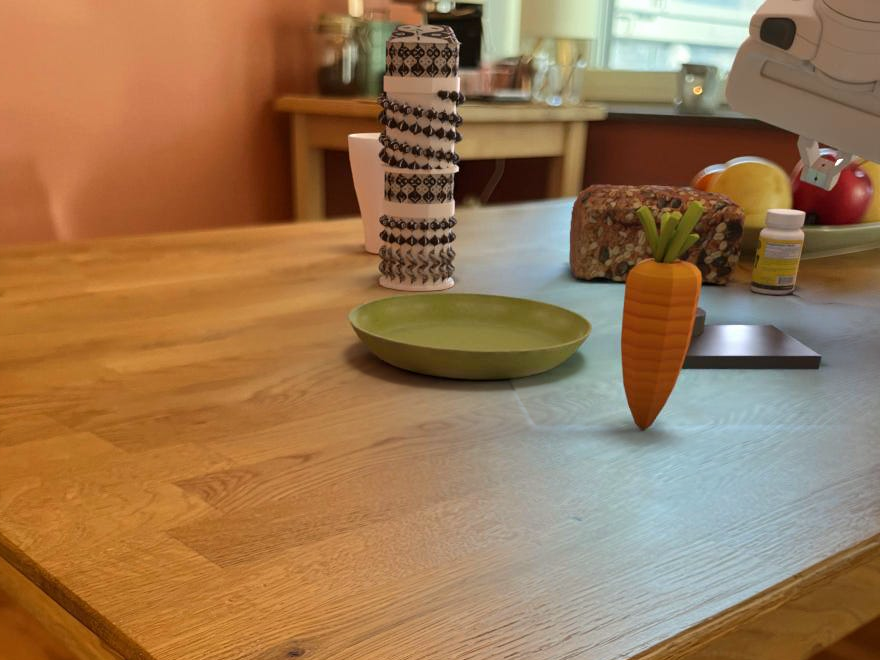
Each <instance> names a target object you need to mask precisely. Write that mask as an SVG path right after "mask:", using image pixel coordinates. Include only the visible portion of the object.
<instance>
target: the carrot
mask: <svg viewBox="0 0 880 660" xmlns="http://www.w3.org/2000/svg"><path fill="white" fill-rule="evenodd" d="M703 211H704V208H703V206H702V204H701V202H699V201H692V203H691V204H690V206H689V208H688V209H687V211H686V212H685V214H684V216H683V218H682V220H681V221H680V223H679V225H678V227H677V229H676V230H674V229H675V227H676V225H677V224H678V222H679V220H680V218H681V216H682V214H680V213H679V212H675V211H674V212H673V213H672V214H671V215H670V214H669V213H668V212H666V213H664V214H663V215H662V216H661V230H660V238H659V237H658V233H657V229H656V225H655V221H654V218H653V216H652V214H651V212H650V210H649V209H648V208H647V206H644V207H641V208H640V209H639V210H638V211H637V212H636V213H637V215H638V217H639V219H640V221H641V223H642V225H643V228H644V231H645V233H646V236H647V239H648V242H649V245H650V247H651V250H652V253H653V256H654V258H651V259H645V260H643V261H641V262H639V263H638V264H637V265H636V266H635V267H633V268H632V269H631V270H630V272H629V274H628V276H627V280H626V281H625V288H624V296H623V297H624V298H623V308H622V310H623V311H622V320H621V321H622V322H621V335H620V349H621V350H620V351H621V352H620V353H621V370H622V371H621V373H622V383H623V384H622V385H623V389H624V393H625V397H626V402H627V405H628V408H629V412H630V413H631V416H632V419H633V422H634V424H635V425H636V426H637V427H638V429H639V430H640V431H642V432H643V431H646V430H647V429H649V428H650V427H651V426H652V425H653V424H654V422H655V420H656V419H657V417H658V416H659V414H660V413H661V411H662V410H663V409H664V407H665V405H666V404H667V402H668V400H669V399H670V397H671V395H672V393H673V390H674V388H675V387H676V384H677V382H678V378H679V375H680V373H681V370H682V369H681V368H682V365H683V362H684V359H685V356H686V353H687V350H688V347H689V344H690V339H691V335H692V330H693V326H694V321H695V316H696V311H697V307H699V300H700V295H701V289H702V284H703V283H702V276H701V272H700V270H699V269H698V268H697V266H695V265H693V264H692V263H689V262H686V261H682V260H679V259H677V258H678V257H679V256H680V255H681V254H682V253H684V252H685V251H686V250H687V249H688V248H689V247H690V246H691V245H693V244H694V243H695V242H696V241H697V240H698V239H699V236H698V234H691V235H689V234H690V232H691V231H692V229H693V228H694V226H695V225H696V223H697V221H698V220H699V218H700V216H701V214H702V213H703Z"/></svg>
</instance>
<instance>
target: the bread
mask: <svg viewBox="0 0 880 660" xmlns="http://www.w3.org/2000/svg"><path fill="white" fill-rule="evenodd" d="M692 201H699V202H701V204H702V206H703V208H704V211H703V213H702V214H701V216H700V218H699V220H698V221H697V223H696V225H695V226H694V228H693V229H692V231H691V232H690V234H689V235H691V234H698V236H699V239H698V240H697V241H696V242H695V243H694V244H693V245H691V246H690V247H689V248H688V249H687V250H686V251H685V252H684V253H682V254H681V255H680V256H679V257H678V258H677V259H679V260H682V261H686V262H689V263H692V264H693V265H695V266H697V268H698V269H699V270H700V272H701V276H702V283H701V284H717V285H723V284H726V283H730V282H731V281H732V280H733V279H734V277H735V273H736V267H738V262H740V257H739V256H741V251H742V244H743V239H744V235H745V230H744V225H745V219H746V212H745V210H743V208H742V207H741V205H739V204H737V203H735V201H734V200H733V199H732V198H731V197H729V196H727V195H726V194H722V193H712V192H709V191H704V190H699V189H693V188H690V189H689V188H687V187H681V186H676V185H674V186H673V185H672V186H669V185H666V186H663V185H659V184H658V185H657V184H653V185H651V184H644V185H636V186H634V185H625V184H623V185H614V184H609V183H608V184H591V185H590V186H588V187H586V188H585V189H583V190H581V191H580V192H579V194H578V195H577V198H576V200H575V201H574V203H573V206H572V207H571V208H572V210H571V217H570V218H571V219H570V229H569V257H568V258H569V260H568V261H569V268H570V270H571V272H572V275H573V276H574V278H575V279H578V280H579V279H580V280H581V279H582V280H586V281H591V280H593V279H594V278H605V279H607V280H609V281H610V280H611V281H615V282H616V281H617V282H626V280H627V276H628V274H629V272H630V270H631V269H632V268H633V267H635V266H636V265H637V264H638V263H639V262H641V261H643V260H645V259H651V258H654V256H653V253H652V250H651V247H650V245H649V242H648V239H647V236H646V233H645V231H644V228H643V225H642V223H641V221H640V219H639V217H638V215H637V213H636V212H637V211H638V210H639V209H640V208H641V207H644V206H647V208H648V209H649V210H650V212H651V214H652V216H653V218H654V221H655V225H656V229H657V233H658V237H659V238H660V230H661V216H662V215H663V214H664V213H666V212H668V213H669V214H670V215H671V214H672V213H673V212H674V211H675V212H679V213H680V214H682V216H681V218H680V220H679V222H678V224H677V225H676V227H675V229H674V230H676V229H677V227H678V225H679V223H680V221H681V220H682V218H683V216H684V214H685V212H686V211H687V209H688V208H689V206H690V204H691V203H692Z"/></svg>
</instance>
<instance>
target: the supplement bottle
mask: <svg viewBox="0 0 880 660" xmlns="http://www.w3.org/2000/svg"><path fill="white" fill-rule="evenodd" d="M805 219H806V211H802V210H797V209H791V208H789V209H788V208H771V209H768V210H767V212H766V216H765V220H764V222H765V223H764V224H765V225H766V227H764V228H763V229H761V231H760V232H759V235H758V242H757V248H756V253H755V259H754V263H753V264H754V265H753V269H752V275H751V281H750V290H751V291H752V292H754V293H757V294H763V295H772V296H787V295H790V294H792V293H793V291H794V290H795V286H796V281H797V276H798V271H799V267H800V261H801V255H802V250H803V245H804V241H805V233H804V231H803V230H802V227H804V224H805Z"/></svg>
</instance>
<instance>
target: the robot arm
mask: <svg viewBox="0 0 880 660" xmlns="http://www.w3.org/2000/svg"><path fill="white" fill-rule="evenodd" d="M748 35H749V36H748V37H747V38H746V39H744V41H743V42H742V43H741V44H740V46H739V48H738V49H737V52H736V53H735V57H734V60H733V62H732V66H731V68H730V71H729V75H728V79H727V83H726V87H725V92H724V93H725V94H724V96H725V99H726V102H727V104H728V107H729V108H730V109H731V110H732V111H734V112H735V113H739V114H742V115H745V116H747V117H750V118H753V119H755V120H758V121H760V122H763V123H766V124H769V125H771V126H774V127H777V128H779V129H782V130H785V131H788V132H791V133H793V134H796V135H799V136H798V140H797V143H796V146H797V148H798V151H799V156H800V160H801V162H802V165H803V167H802V170H801V174H800V176H799V180H800V181H802V182H804V183H806V184H809V185H812V186H815V187H818V188H820V189H822V190H825V191H827V192H830V191H832V189H833V188H834V187H835V186H836V185H837V183H838V181H839V178H840V177H841V172H842V171H843V170H845V168H846V167H848V166H849V165H850V164H851V163H852V162H853V161H854V160H855V159H856V158H857V157H858V158H860V159H863V160H866V161H869V162H872V163H874V164H877V165H879V166H880V0H764V2H763V3H762V4H761V5H760V6H759V7H758V9H756V11H755V12H754V13H753V14H752V16H751V18H750V21H749V26H748ZM819 143H820V144H823V145H825V146H828V147H831V148H834V149H837V151H836V155H835V158H836V159H837V161H833V160H830V159H827V158H824V157H822V156H821V153H820V147H819Z"/></svg>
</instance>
